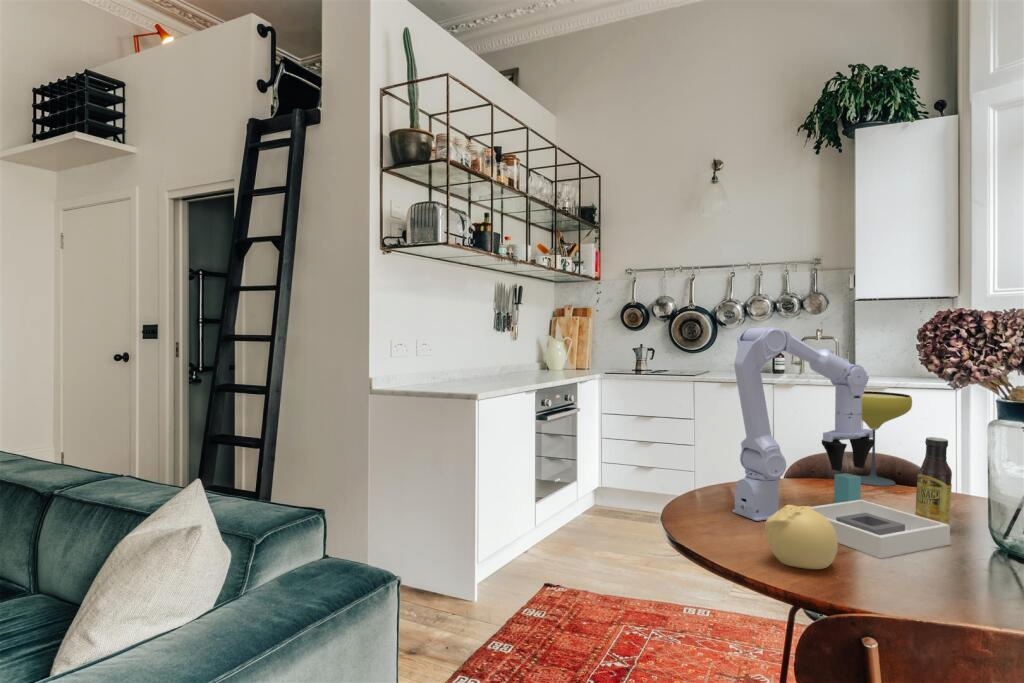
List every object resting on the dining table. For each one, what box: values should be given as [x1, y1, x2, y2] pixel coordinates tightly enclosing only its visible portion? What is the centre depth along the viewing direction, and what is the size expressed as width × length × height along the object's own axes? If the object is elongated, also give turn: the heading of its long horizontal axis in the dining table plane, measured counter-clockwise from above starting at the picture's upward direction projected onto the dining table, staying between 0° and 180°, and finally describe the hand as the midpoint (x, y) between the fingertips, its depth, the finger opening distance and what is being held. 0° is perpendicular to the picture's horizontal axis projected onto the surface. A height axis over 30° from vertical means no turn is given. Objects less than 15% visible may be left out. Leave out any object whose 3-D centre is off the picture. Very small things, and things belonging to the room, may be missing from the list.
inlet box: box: [810, 499, 951, 559], centre depth 130 cm, size 20×20×4 cm
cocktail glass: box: [859, 390, 913, 487], centre depth 176 cm, size 18×18×25 cm
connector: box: [833, 472, 862, 504], centre depth 150 cm, size 4×4×8 cm
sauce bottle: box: [914, 436, 953, 525], centre depth 134 cm, size 7×6×20 cm
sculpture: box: [764, 504, 839, 570], centre depth 115 cm, size 11×12×11 cm
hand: (847, 468), depth 150 cm, fingers open, 7 cm apart
